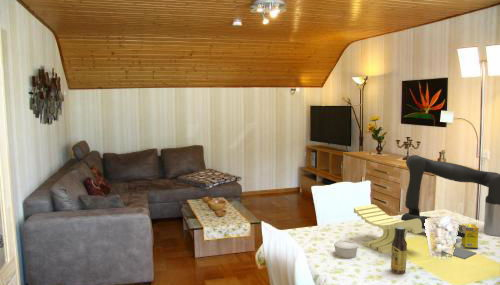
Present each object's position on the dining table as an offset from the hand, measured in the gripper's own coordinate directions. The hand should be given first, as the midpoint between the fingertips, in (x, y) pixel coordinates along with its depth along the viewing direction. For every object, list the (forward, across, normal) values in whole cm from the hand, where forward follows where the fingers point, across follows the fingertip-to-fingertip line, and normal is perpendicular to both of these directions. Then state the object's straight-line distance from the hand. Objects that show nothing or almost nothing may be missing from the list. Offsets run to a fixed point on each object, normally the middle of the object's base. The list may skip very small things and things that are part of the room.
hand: (468, 233), depth 208 cm
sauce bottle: (-3, -53, +7) cm, 54 cm away
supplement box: (+1, 0, +7) cm, 7 cm away
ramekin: (-30, -56, +7) cm, 64 cm away
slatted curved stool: (-25, -32, +7) cm, 41 cm away
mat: (+2, -12, +6) cm, 14 cm away
